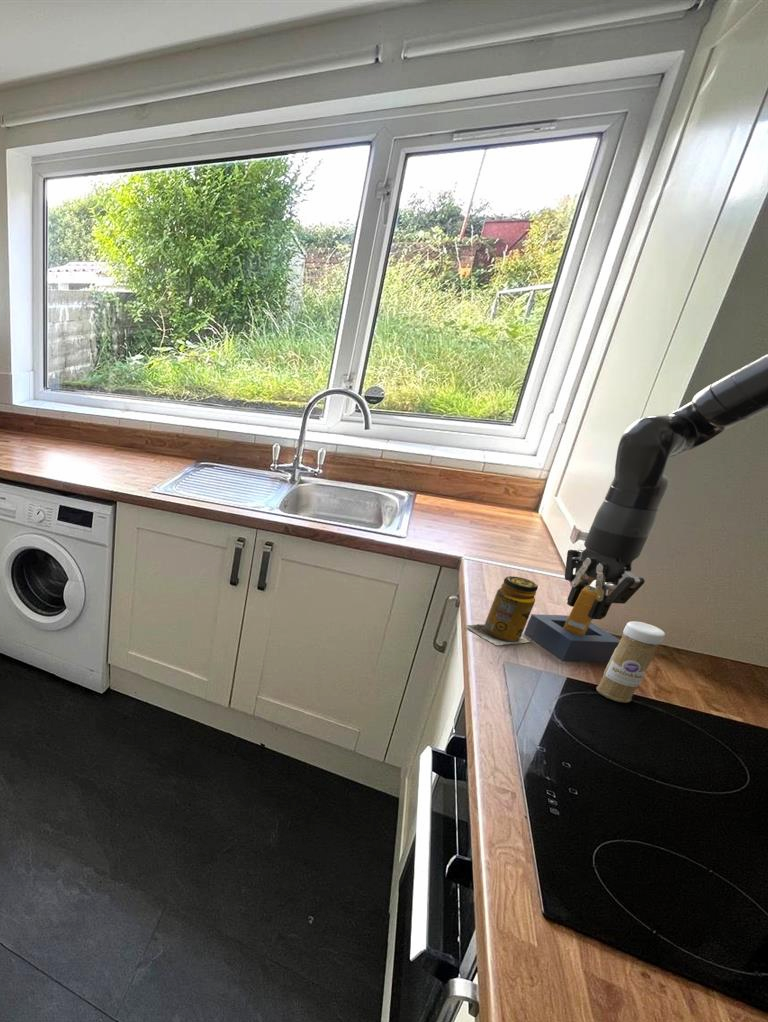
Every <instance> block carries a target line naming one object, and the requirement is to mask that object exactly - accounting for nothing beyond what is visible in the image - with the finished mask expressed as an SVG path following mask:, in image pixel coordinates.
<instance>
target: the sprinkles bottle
mask: <svg viewBox="0 0 768 1022" xmlns="http://www.w3.org/2000/svg"><path fill="white" fill-rule="evenodd" d="M622 632H623V633H622V637H621V638H620V642H619V644H618V646H617V647H616V649H615V651H614V653H613V655H612V657H611V659H610V661H609V663H607V665H606V668H605V669H604V672H603V676H602V677H601V679H600V682H599V684H598V685H597V686H596V691H597V693H599V695H601V696H603V697H605V698H606V699H608V700H611V701H614V702H617V703H624V704H626V703H630V702H631V701H632V699H633V696H634V694H635V692H636V690H637V688H638V687H639V685H640V683H641V682H642V679H643V678H644V676H645V674H646V672H647V670H648V668H649V666H650V664H651V662H652V660H653V657H654V654H655V653H656V651H657V649H658V647H659V646H660V645H661V644H662V643H663V640H664V638H665V636H666V633H665V631H663V630H662V629H661V628H660V627H658V626H655V625H652V624H649V623H646V622H642V621H634V620H633V621H628V622H627V623H626V625H625V627H624V629H623V631H622Z"/></svg>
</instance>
